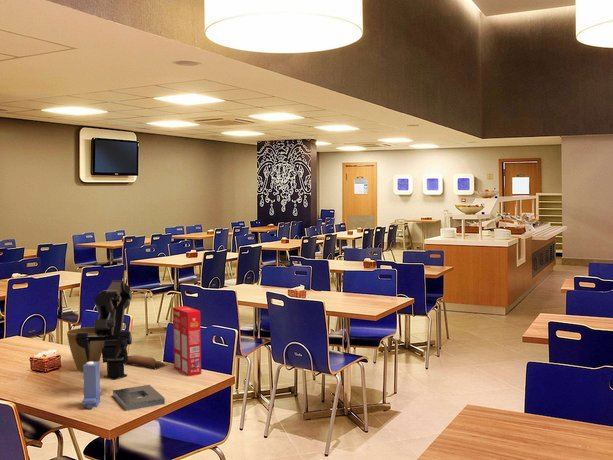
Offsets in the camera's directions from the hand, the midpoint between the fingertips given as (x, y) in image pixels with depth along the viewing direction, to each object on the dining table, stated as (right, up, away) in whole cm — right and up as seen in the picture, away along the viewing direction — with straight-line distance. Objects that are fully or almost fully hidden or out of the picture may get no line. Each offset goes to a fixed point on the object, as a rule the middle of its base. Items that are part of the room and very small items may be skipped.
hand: (101, 359), depth 223 cm
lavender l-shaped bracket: (-1, -14, -7) cm, 15 cm away
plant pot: (-18, -12, +38) cm, 43 cm away
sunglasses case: (+5, -12, +43) cm, 45 cm away
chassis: (+14, -13, -3) cm, 19 cm away
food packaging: (+24, -11, +33) cm, 42 cm away
